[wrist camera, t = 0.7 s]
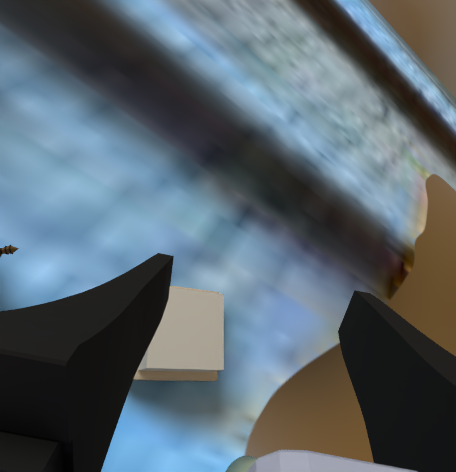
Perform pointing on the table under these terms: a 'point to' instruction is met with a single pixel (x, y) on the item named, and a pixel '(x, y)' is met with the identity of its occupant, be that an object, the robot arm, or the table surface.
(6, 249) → the game die
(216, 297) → the cream block
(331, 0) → the table surface
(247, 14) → the table surface
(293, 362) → the table surface
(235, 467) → the green capsule
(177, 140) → the table surface
